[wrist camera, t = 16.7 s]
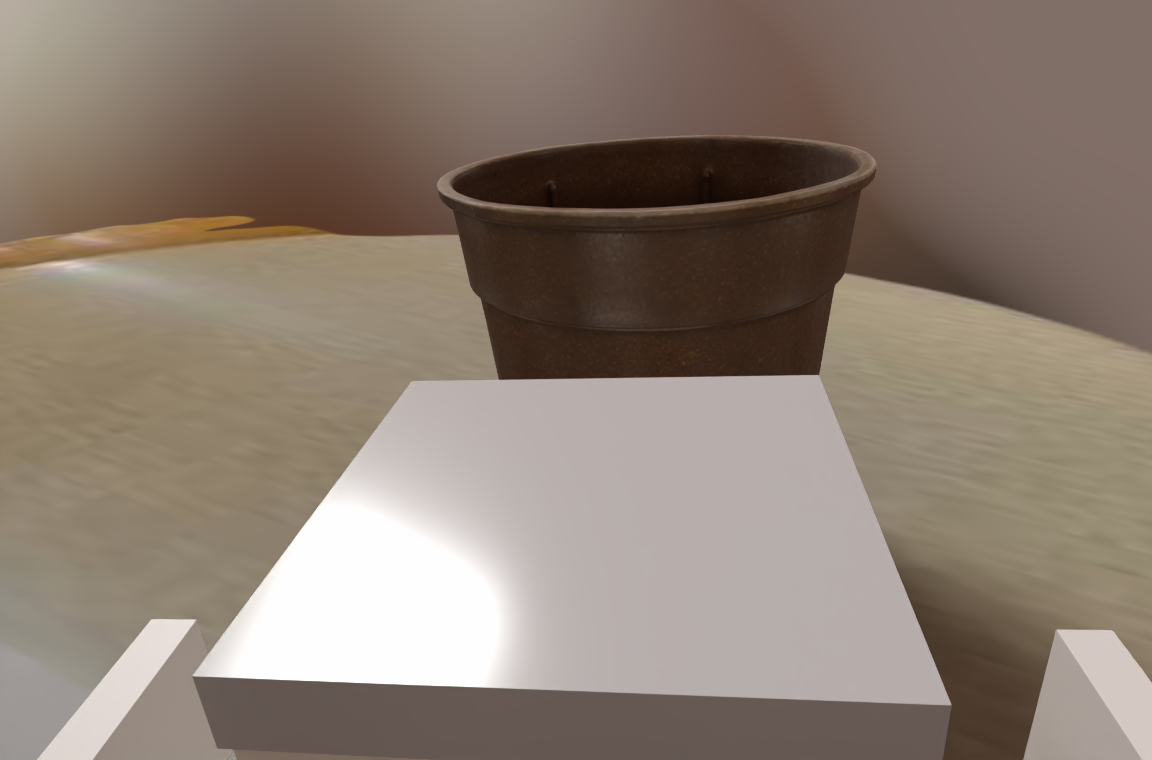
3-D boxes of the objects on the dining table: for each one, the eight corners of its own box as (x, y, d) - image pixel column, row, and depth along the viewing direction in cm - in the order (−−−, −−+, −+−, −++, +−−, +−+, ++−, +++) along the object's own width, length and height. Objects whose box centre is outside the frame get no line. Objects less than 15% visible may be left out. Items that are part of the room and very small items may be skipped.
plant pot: (502, 437, 44) (468, 142, 38) (791, 424, 44) (810, 121, 37) (459, 648, 30) (392, 224, 23) (894, 632, 29) (956, 192, 22)
